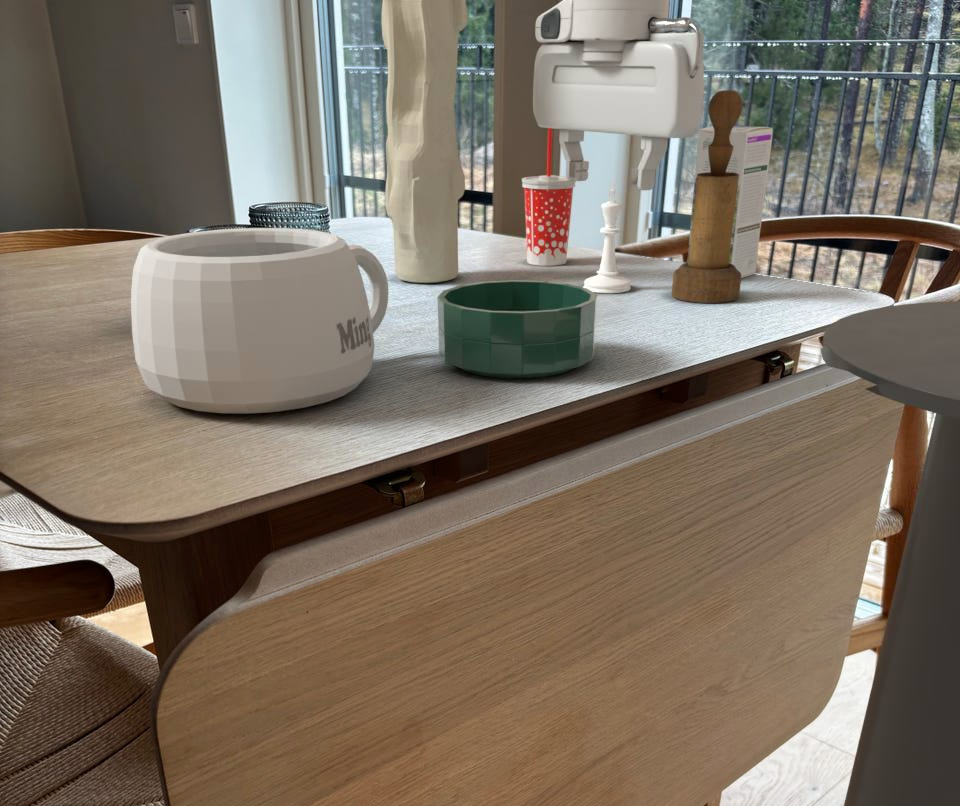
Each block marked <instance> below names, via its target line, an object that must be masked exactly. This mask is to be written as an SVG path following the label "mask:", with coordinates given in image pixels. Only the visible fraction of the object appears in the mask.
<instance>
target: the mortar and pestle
mask: <svg viewBox="0 0 960 806" xmlns="http://www.w3.org/2000/svg"><path fill="white" fill-rule="evenodd" d="M742 100H743V99H742V97H741V95H740V94H739V93H738V92H737V91H736V90H735V89H734V90H732V89H731V90H730V89H728V90H727V89H726V90H719V91H717V92H716V93H714V94H713V95H712V97H711V99H710V100H709V103H708V108H707V112H708V117H709V119H710V122H711V126H713V128H714V139H713V142H712V144H711V145H709V146H708V154H709V162H710V170H711V172H707V173H700V174H697V182H696V193H695V204H694V214H693V224H692V234H691V243H690V252H689V260H688V259H687V260H688V263H687V262H684V263H682V264H681V265H680V266H679V267H677V269H675V270H674V271H673V276H672V285H671V296H672V297H673V298H674V299H676V300H679V301H682V302H683V301H684V302H690V303H702V304H718V303H719V304H720V303H729V302H734V301H736V300H738V299H739V297H740V293H741V292H740V291H741V282H742V278H741V273H740V272H739V271H738V270H737V269H736V267H735V266H734V265H733V264H730V263H729V256H730V247H731V238H732V229H733V221H734V212H735V204H736V196H737V188H738V180H739V174H737V173H732V172H731V173H729V172H726V169H727V166H728V164H729V161H730V158H731V155H732V152H733V147H734V146H733V145H731V144H730V133H731V130H732V128H733V127H734V126H736V124H737V122H738V120H739V118H740V116H741V114H742V112H743V101H742Z"/></svg>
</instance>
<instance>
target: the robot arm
mask: <svg viewBox="0 0 960 806" xmlns="http://www.w3.org/2000/svg"><path fill="white" fill-rule="evenodd" d="M669 12H670V0H561V1H560V2H558V3H557V4H555V5H554V6H553V7H551V8H549V9H548V10H546V11H544V12H543V13H541V14H540V15H538V17H537V18H536V20H535V25H534V26H535V28H534V34H535V35H534V36H535V39H536V41H537V42H539V43H543V44H542V45H540V47H539V48H538V50H537V52H536V55H535V58H534V59H535V60H534V67H533V68H534V69H533V82H532V83H533V84H532V87H533V88H532V112H533V116H534V119H535V121H536V123H537V125H538V127H539V128H545V129H556V130H557V129H558V130H559V133H558V134H559V138H558V142H559V145H560V148H561V151H562V154H563V157H564V160H565V161H566V163H565V164H566V165H565V177H566V178H567V180H571V181H576V182H585V181H587V180H588V178H589V172H588V171H589V167H590V161H587V160H585V158H584V155H583V150H582V145H581V142H584V141H585V132H592V133H603V134H604V133H605V134H615V135H616V134H617V135H628V136H639V137H640V136H641V139H640V149H641V150H642V151H643V150H644V152H643V154H642V157H641V159H640V162H639V164H638V167H637V168H631V169H630V171H631V172H630V178H631V180H630V183H629V184H630V185H629V186H630V188H631V189H632V190H636V191H651V190H653V189H654V186H655V181H656V172H657V171H656V170H657V169H658V167H659V166H660V164H661V162H662V160H663V158H664V156H665V154H666V152H667V151H668V146H669V145H668V144H669V139H686V138H694V137H695V135H696V134H697V133H698V132H699V129H701V126H702V123H703V117H704V101H705V98H704V97H705V73H704V72H705V70H704V69H705V67H704V58H703V51H704V43H705V42H704V41H705V39H704V34H703V33H702V31H701V30H700V27H699V26H698V25H697V24H695V21H694V19H692V18H690V17H687V16H682V17H677V18H671V17H669ZM692 30H693V31H694V32H691V31H692Z"/></svg>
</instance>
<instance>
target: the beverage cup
mask: <svg viewBox="0 0 960 806" xmlns="http://www.w3.org/2000/svg"><path fill="white" fill-rule="evenodd" d="M546 153H547V154H546V155H547V156H546V157H547V158H546V160H547V161H546V174H545V175H537V176H536V175H534V176H527V177H522V178H521V183H522V184H521V187H522V188H523V189H524V191H523V194H524V215H525V241H526V243H525V244H526V262H527V264H529V265H532V266H540V267H541V266H543V267H544V266H545V267H549V266H561V265H565V264H567V257H568V247H569V236H570V226H571V215H572V205H573V195H574V188H575V187H576V182H577V181H571V180H567V178H566V176H562V175H555V174H554V175H553V174H552V155H553V154H552V153H553V128H547V152H546Z"/></svg>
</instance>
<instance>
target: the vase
mask: <svg viewBox="0 0 960 806" xmlns="http://www.w3.org/2000/svg"><path fill="white" fill-rule="evenodd" d="M468 16H469V15H468V7H467V4H466V0H382V4H381V35H382V36H381V37H382V41H383V45H384V48H385V49H386V51H387V87H386V105H385V106H386V108H385V109H386V110H385V111H386V124H387V138H386V141H385V157H386V181H385V193H384V200H385V201H384V202H385V203H384V204H385V205H384V206H385V210H386V215H387V217H388V218H389V219H390V220H391V224H392V231H393V248H394V249H393V251H394V272H395V274H396V277H397V279H398V280H401V281H404V282H408V283H415V284H436V283H444V282H448V281H450V280H454V279H456V278H457V277H458V272H459V230H458V229H459V225H458V223H459V222H458V219H459V218H458V216H459V215H458V214H459V211H458V210H459V200H460V199H461V198H462V197H463V196H464V194H465V190H466V177H465V173H464V169H463V165H462V163H461V159H460V156H459V148H458V145H459V144H458V140H457V131H456V121H455V96H456V88H457V87H456V86H457V75H458V52H459V46H458V45H459V36H460V35H459V34H460V32H462V31H463V30H464V29H465V28H466V26H467V25H468V23H469V22H468V21H469V20H468Z"/></svg>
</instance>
